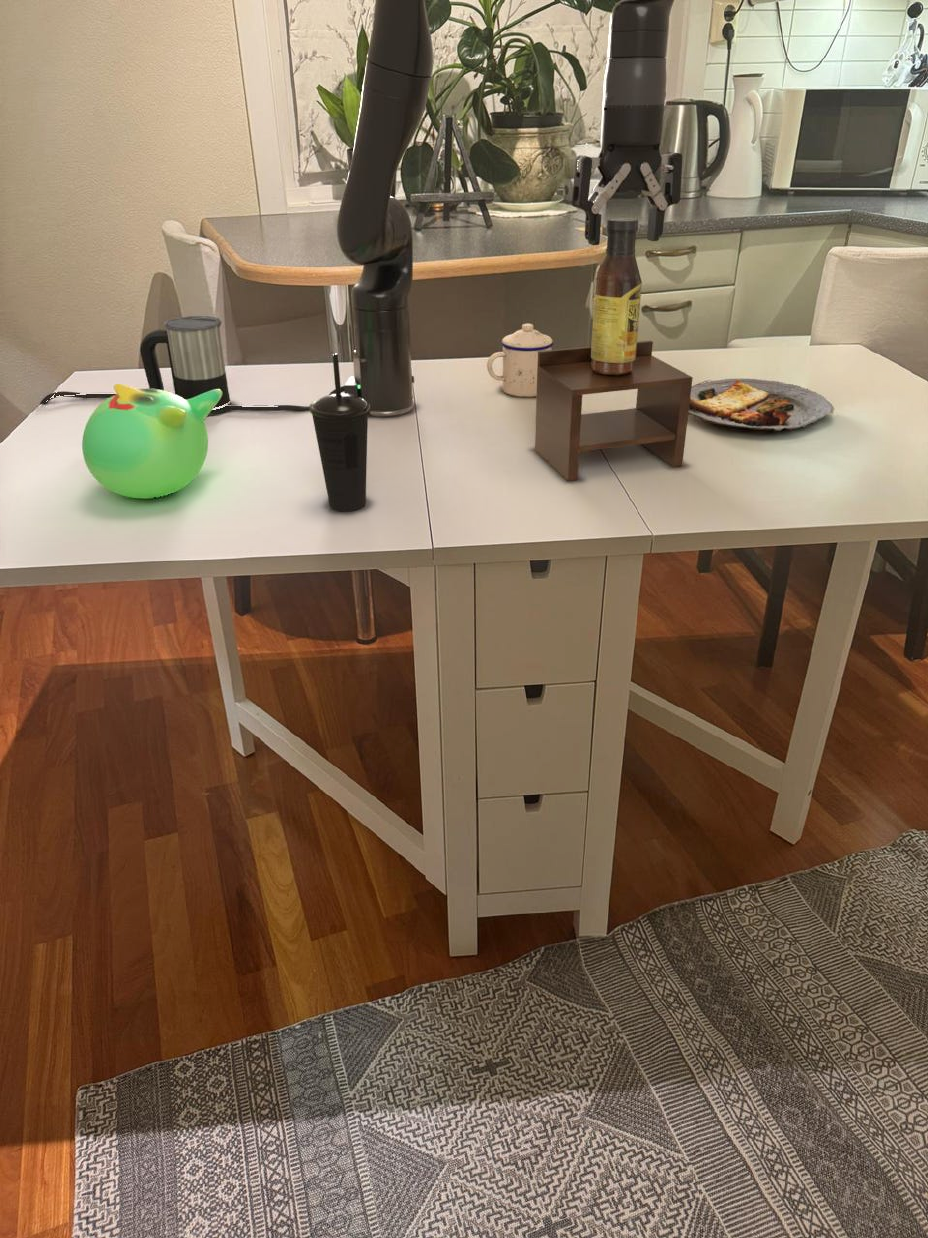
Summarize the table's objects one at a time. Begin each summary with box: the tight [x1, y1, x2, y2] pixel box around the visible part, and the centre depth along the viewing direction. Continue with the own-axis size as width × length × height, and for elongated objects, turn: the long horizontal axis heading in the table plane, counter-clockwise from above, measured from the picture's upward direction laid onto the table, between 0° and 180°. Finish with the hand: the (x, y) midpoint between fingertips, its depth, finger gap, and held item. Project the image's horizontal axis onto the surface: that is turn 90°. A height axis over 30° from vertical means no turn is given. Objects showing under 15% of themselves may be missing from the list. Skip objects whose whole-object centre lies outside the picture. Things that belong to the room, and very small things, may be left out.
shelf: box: [534, 340, 694, 482], centre depth 132 cm, size 18×13×15 cm
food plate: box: [688, 378, 835, 432], centre depth 151 cm, size 25×23×4 cm
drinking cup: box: [308, 353, 370, 513], centre depth 117 cm, size 8×8×20 cm
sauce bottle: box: [591, 217, 643, 375], centre depth 124 cm, size 7×6×20 cm
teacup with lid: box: [486, 323, 554, 398], centre depth 162 cm, size 12×9×12 cm
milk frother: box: [139, 315, 233, 417], centre depth 151 cm, size 14×16×15 cm
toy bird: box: [81, 383, 222, 499], centre depth 123 cm, size 18×17×15 cm
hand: (623, 242), depth 120 cm, fingers open, 8 cm apart
